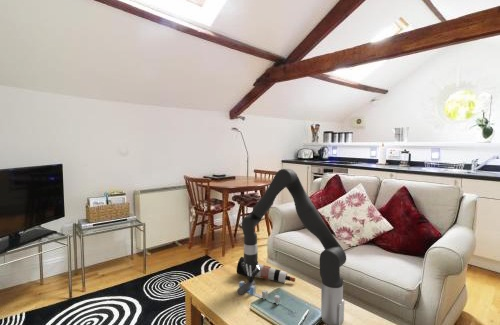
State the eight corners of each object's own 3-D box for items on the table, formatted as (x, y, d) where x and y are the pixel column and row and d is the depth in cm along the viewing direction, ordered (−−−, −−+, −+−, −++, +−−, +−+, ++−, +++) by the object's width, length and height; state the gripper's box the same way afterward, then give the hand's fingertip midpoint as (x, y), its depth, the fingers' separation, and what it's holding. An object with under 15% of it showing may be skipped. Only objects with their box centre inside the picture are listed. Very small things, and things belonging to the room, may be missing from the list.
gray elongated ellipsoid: (252, 285, 152) (250, 279, 153) (257, 284, 150) (254, 278, 151) (237, 296, 141) (234, 289, 142) (241, 295, 139) (239, 288, 140)
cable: (292, 293, 152) (293, 282, 146) (237, 277, 162) (235, 266, 157) (296, 277, 159) (296, 267, 154) (243, 263, 170) (242, 253, 165)
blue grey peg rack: (280, 303, 135) (280, 296, 134) (277, 305, 133) (277, 298, 132) (241, 287, 149) (241, 280, 149) (239, 289, 148) (239, 282, 147)
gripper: (264, 252, 145) (264, 282, 147) (245, 246, 153) (245, 275, 155) (256, 256, 139) (256, 288, 141) (236, 250, 147) (237, 281, 149)
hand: (250, 281), depth 148 cm, fingers closed
